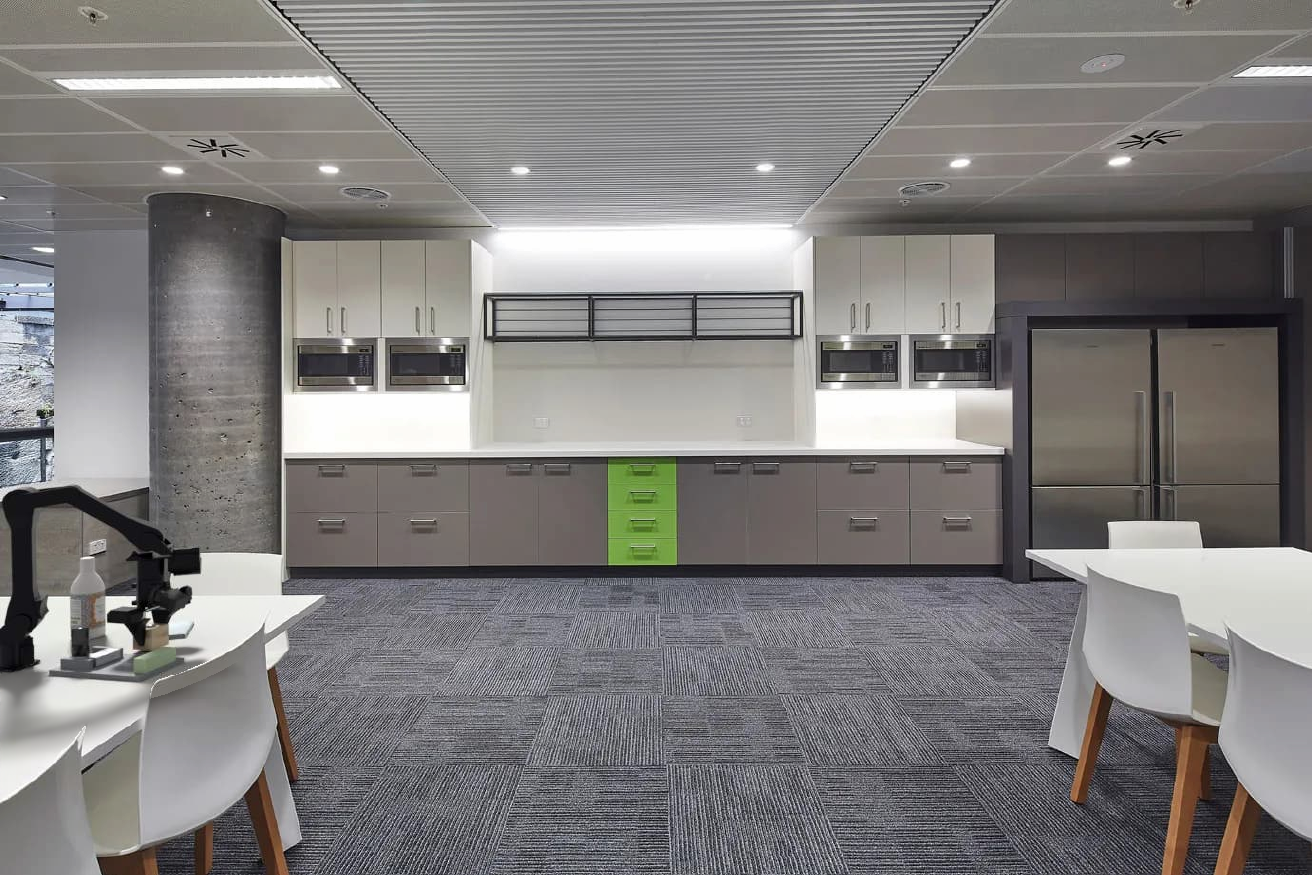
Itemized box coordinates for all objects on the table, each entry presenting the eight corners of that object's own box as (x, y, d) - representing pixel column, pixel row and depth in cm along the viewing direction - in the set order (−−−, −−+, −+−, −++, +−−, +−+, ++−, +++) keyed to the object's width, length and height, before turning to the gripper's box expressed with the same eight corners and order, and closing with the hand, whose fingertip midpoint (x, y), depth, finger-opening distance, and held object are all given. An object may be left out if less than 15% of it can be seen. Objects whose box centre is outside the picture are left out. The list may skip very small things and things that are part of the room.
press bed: (48, 674, 156) (48, 656, 155) (98, 656, 168) (98, 639, 167) (140, 681, 153) (140, 662, 153) (184, 661, 165) (184, 644, 165)
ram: (61, 664, 159) (61, 631, 158) (86, 655, 164) (86, 623, 164) (96, 666, 157) (96, 633, 157) (120, 657, 163) (119, 625, 163)
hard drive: (185, 633, 182) (194, 619, 193) (146, 637, 179) (157, 622, 190) (185, 639, 182) (194, 625, 193) (146, 643, 179) (157, 629, 190)
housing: (132, 649, 170) (132, 627, 170) (150, 642, 175) (150, 621, 175) (151, 650, 170) (151, 628, 169) (168, 644, 175) (168, 622, 174)
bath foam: (92, 641, 178) (91, 560, 177) (63, 640, 178) (62, 560, 177) (112, 632, 185) (111, 555, 184) (84, 632, 185) (83, 554, 184)
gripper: (148, 589, 162) (149, 657, 162) (210, 570, 180) (210, 632, 181) (104, 586, 163) (104, 654, 164) (170, 568, 181) (170, 630, 182)
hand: (151, 642), depth 172 cm, fingers closed on housing, 5 cm apart
